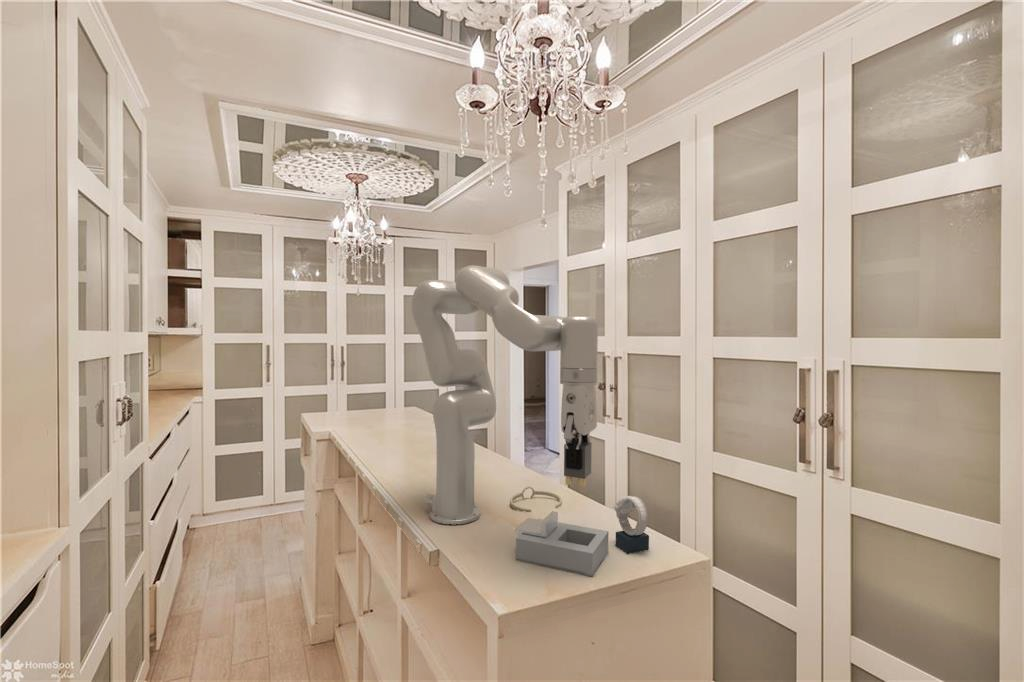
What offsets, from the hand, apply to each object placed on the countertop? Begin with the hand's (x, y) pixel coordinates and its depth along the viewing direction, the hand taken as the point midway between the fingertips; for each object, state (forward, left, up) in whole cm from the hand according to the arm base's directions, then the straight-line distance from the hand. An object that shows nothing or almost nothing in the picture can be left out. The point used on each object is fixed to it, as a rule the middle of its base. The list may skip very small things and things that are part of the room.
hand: (577, 464), depth 103 cm
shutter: (-9, 0, -15) cm, 17 cm away
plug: (0, 0, -4) cm, 4 cm away
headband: (-20, +27, -20) cm, 39 cm away
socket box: (-3, 0, -19) cm, 20 cm away
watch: (+9, +11, -20) cm, 24 cm away
